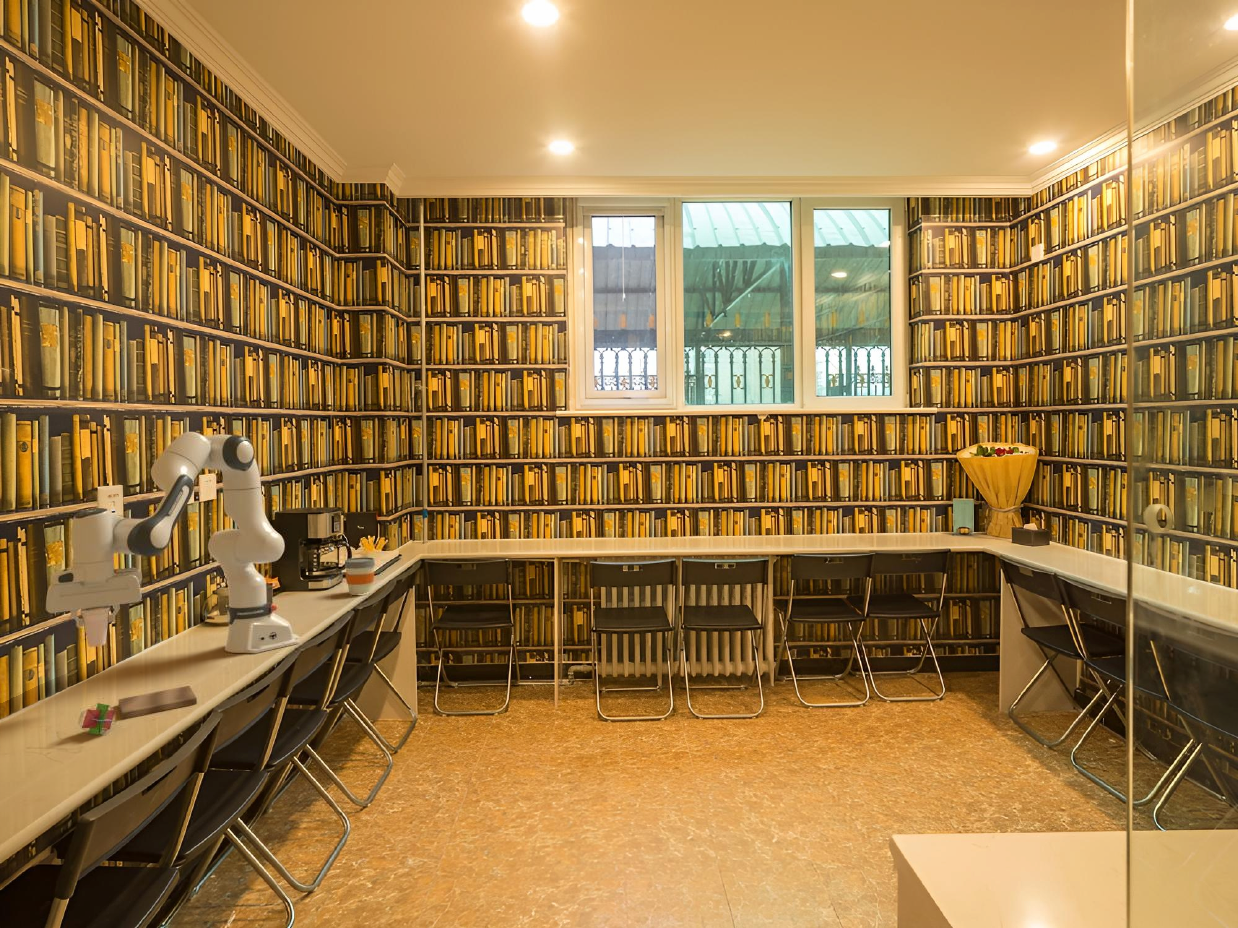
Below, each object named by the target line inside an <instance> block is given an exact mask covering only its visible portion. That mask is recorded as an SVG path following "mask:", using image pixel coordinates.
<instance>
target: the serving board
mask: <svg viewBox="0 0 1238 928" xmlns="http://www.w3.org/2000/svg"><path fill="white" fill-rule="evenodd" d="M197 701H198V700H197V697H196V695H195V692H194V691H193V690H192V688H191V687H190V685H185V686H180V687H175V688H172V689H165V690H161V691H155V692H150V693H145V694H140V695H134V696H129V697H125V698H124V697H123V698H119V699H118V708H119V707H120V708H119V712H120V714H121V718H122V720H126V719H129V718H128V717H130V718H135V717H138V716H137V715H140V716H144V715H143V714H145V715H149V714H154V712H155V713H158V712H164V711H168V710H169V711H170V710H174V709H178V708H182V707H188V706H192V704H193V705H197ZM163 710H164V711H163ZM134 716H135V717H134Z"/></svg>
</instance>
